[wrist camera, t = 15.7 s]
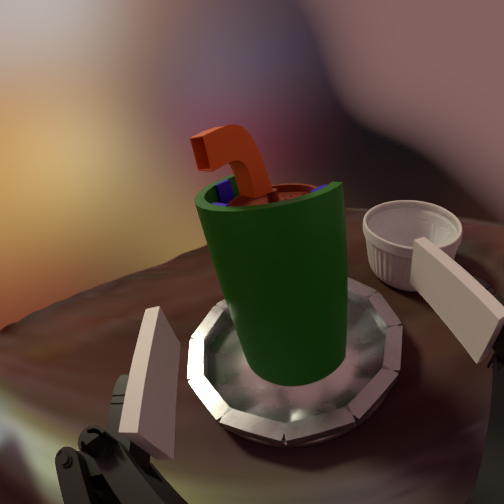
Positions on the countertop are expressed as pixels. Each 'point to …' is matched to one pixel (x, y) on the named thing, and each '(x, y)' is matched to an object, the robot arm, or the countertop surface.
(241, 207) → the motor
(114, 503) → the robot arm
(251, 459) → the countertop surface
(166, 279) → the countertop surface
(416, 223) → the ramekin
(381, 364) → the tray
